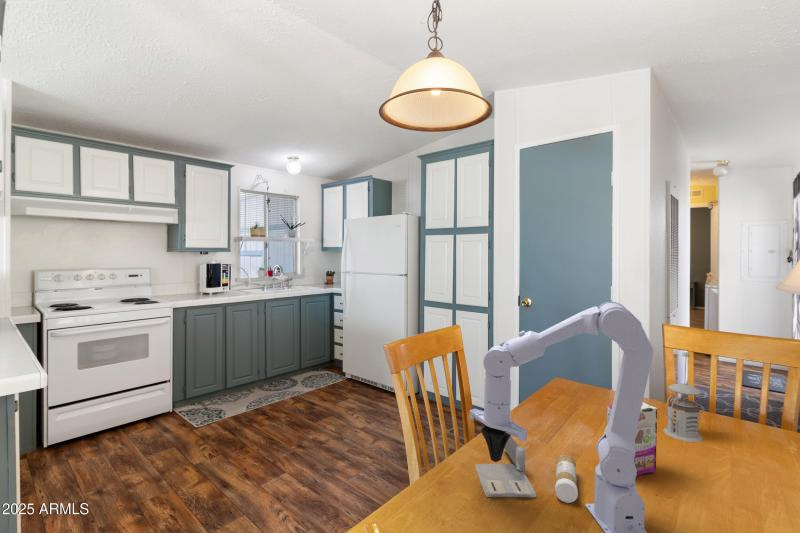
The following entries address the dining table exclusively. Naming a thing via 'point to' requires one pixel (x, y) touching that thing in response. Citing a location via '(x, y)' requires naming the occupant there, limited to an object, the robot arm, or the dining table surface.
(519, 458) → the grey knobbed handle
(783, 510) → the dining table surface
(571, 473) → the sprinkles bottle
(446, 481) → the dining table surface
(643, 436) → the candy bar box
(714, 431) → the dining table surface
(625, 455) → the robot arm
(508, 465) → the chassis plate
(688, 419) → the french press
